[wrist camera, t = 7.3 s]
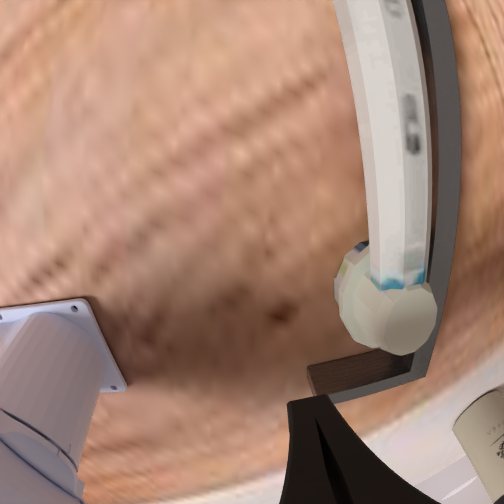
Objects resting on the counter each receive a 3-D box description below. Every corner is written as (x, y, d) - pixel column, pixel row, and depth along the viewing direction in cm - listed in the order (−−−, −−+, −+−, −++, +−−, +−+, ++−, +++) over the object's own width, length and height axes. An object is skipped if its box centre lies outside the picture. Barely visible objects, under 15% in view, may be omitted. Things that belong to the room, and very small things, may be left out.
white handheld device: (401, -95, 7) (453, 370, 14) (359, -44, 13) (400, 317, 20) (303, -114, 7) (367, 399, 14) (281, -50, 13) (330, 333, 20)
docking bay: (307, 377, 22) (317, 407, 20) (254, -93, 9) (261, -120, 7) (408, 351, 23) (425, 376, 20) (390, -77, 10) (412, -95, 7)
